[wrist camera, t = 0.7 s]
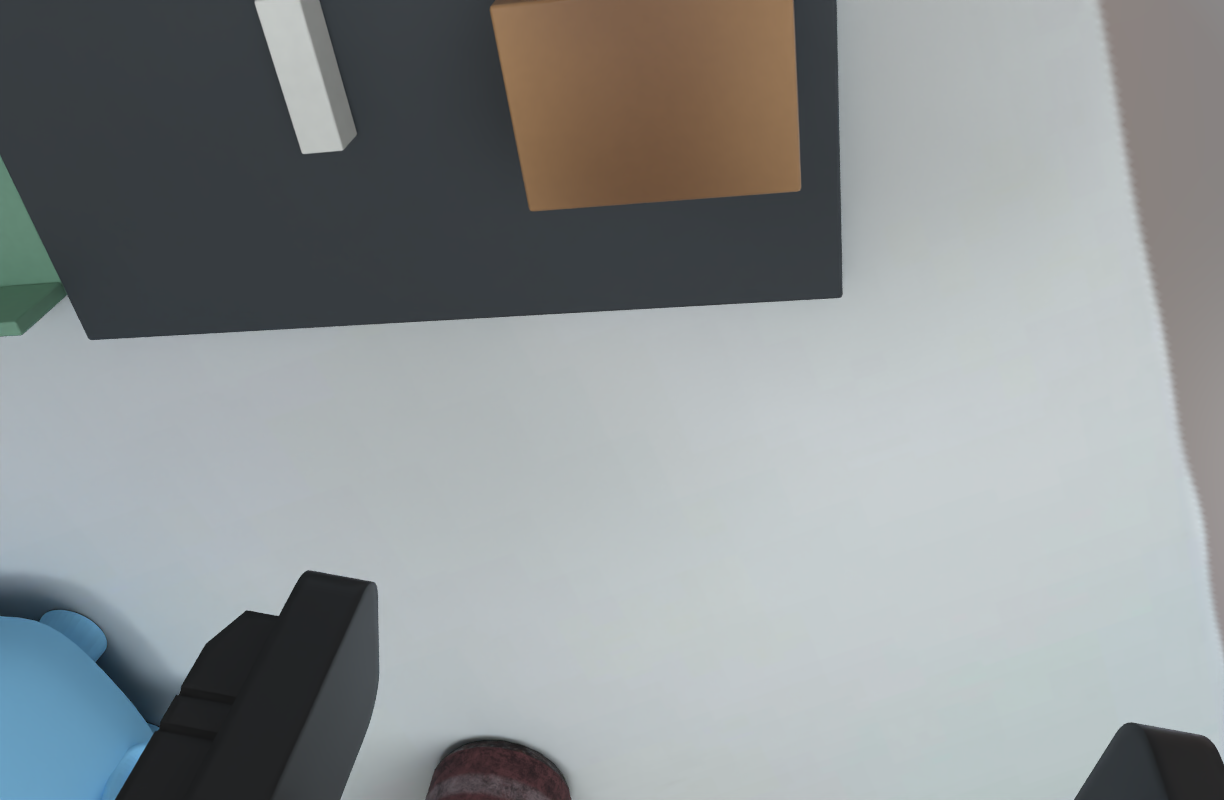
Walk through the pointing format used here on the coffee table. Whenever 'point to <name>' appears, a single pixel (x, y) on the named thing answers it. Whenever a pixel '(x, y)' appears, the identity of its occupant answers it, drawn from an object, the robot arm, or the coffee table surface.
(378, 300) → the slate
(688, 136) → the eraser
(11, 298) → the dustpan
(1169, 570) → the coffee table surface
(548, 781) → the can
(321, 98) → the chalk
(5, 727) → the teapot
